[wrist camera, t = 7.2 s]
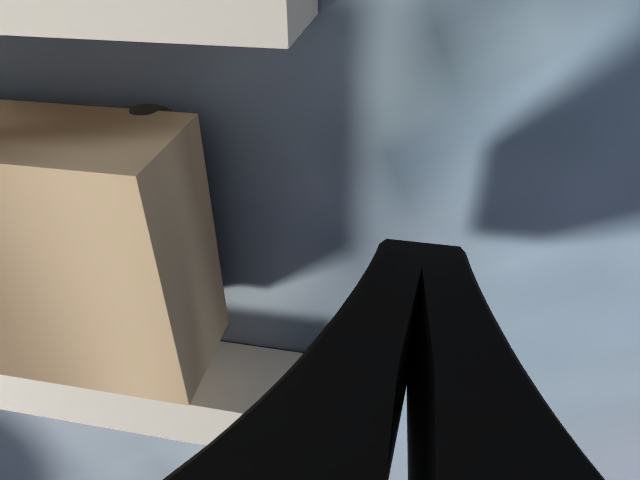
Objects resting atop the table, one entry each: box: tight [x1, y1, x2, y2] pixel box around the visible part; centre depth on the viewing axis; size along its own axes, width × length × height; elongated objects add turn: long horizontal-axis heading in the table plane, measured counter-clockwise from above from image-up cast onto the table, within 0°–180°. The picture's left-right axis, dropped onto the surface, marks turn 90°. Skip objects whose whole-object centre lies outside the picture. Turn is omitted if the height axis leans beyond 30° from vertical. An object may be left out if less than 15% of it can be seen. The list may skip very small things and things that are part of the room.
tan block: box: [0, 99, 228, 406], centre depth 11 cm, size 7×5×3 cm
